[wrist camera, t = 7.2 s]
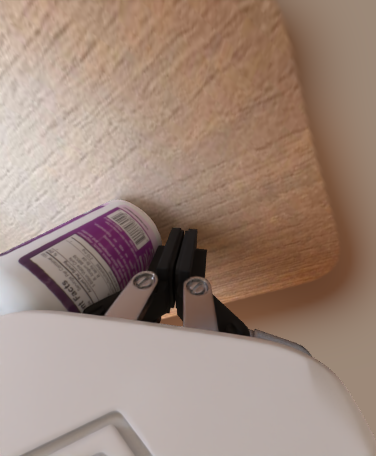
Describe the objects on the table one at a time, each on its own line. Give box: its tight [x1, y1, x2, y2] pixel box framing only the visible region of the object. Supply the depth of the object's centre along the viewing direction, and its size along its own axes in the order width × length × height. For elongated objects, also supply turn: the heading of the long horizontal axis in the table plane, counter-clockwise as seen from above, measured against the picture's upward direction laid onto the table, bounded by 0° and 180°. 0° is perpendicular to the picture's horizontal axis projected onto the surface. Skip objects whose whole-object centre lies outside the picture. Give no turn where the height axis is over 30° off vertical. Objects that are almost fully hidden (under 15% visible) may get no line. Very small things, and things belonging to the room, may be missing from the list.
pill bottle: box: [0, 200, 162, 316], centre depth 10 cm, size 5×5×10 cm
